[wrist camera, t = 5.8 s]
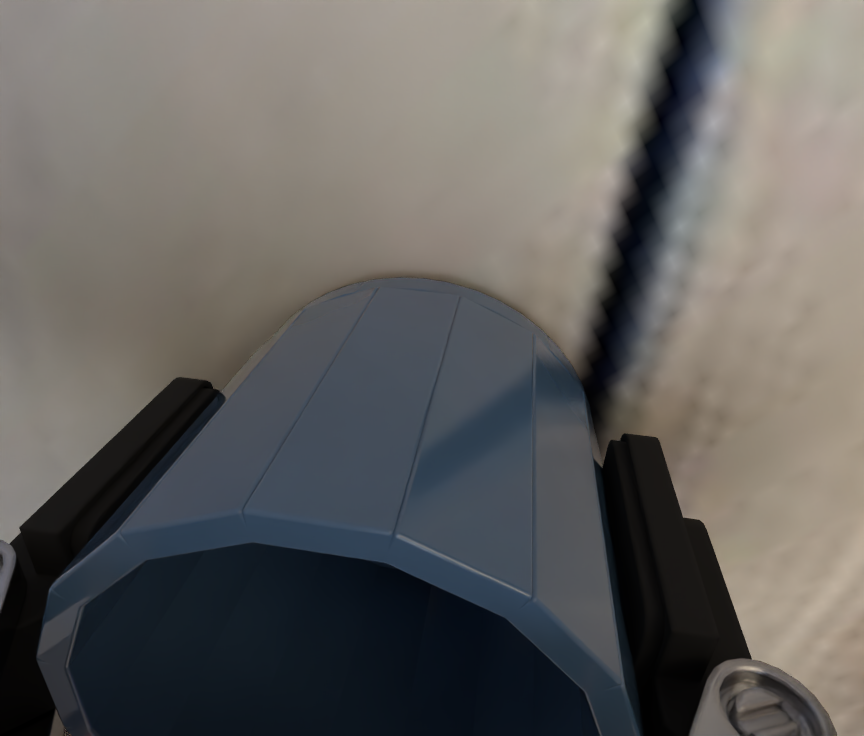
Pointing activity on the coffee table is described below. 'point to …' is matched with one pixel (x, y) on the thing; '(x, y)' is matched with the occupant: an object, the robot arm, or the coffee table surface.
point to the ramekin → (361, 544)
